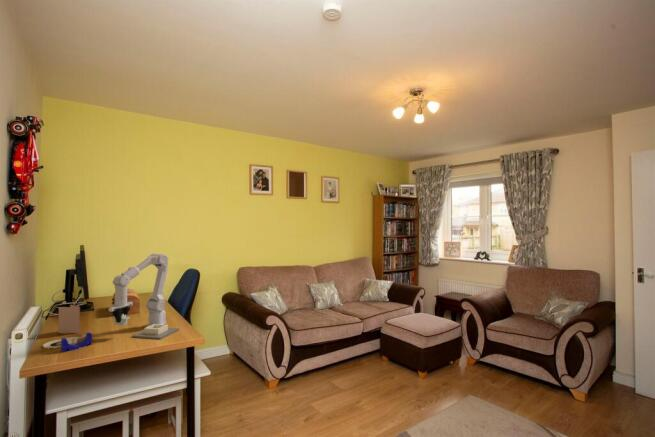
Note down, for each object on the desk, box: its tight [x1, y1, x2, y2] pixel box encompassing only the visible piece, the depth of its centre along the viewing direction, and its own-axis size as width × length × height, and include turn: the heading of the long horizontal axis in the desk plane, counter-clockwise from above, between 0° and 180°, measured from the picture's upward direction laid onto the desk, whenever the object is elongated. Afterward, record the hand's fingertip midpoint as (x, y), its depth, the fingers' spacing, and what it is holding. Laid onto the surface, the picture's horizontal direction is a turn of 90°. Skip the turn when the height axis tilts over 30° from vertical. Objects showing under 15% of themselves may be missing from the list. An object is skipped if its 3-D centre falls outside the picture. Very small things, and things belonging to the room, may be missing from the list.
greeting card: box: [58, 304, 81, 334], centre depth 191 cm, size 11×7×15 cm, turn 59°
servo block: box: [111, 314, 131, 326], centre depth 184 cm, size 3×9×6 cm, turn 79°
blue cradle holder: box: [60, 331, 93, 353], centre depth 167 cm, size 12×4×6 cm, turn 142°
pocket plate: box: [131, 324, 180, 340], centre depth 188 cm, size 16×18×4 cm
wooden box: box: [111, 287, 141, 316], centre depth 241 cm, size 30×16×14 cm, turn 34°
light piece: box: [42, 331, 92, 350], centre depth 174 cm, size 12×3×20 cm
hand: (121, 321), depth 184 cm, fingers closed on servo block, 3 cm apart
